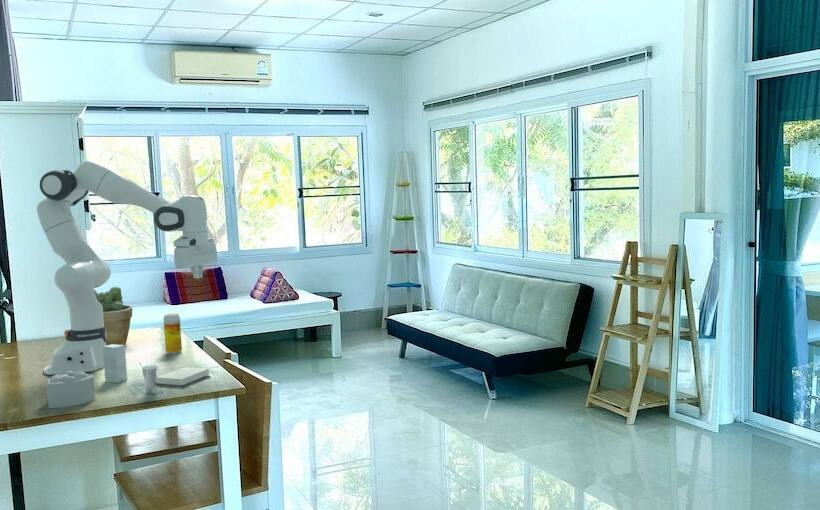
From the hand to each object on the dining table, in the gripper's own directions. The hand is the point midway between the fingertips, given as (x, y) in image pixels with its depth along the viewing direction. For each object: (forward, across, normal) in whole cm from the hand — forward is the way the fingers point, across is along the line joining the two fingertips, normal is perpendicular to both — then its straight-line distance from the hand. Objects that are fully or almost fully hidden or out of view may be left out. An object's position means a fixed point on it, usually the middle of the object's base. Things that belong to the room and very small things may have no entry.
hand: (198, 278), depth 269 cm
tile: (+30, +16, +10) cm, 35 cm away
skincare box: (+31, +30, -13) cm, 45 cm away
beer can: (+31, -11, -23) cm, 40 cm away
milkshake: (+31, +39, +10) cm, 51 cm away
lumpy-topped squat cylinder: (+31, +53, -8) cm, 62 cm away
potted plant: (+31, -16, -59) cm, 68 cm away
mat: (+31, +24, +10) cm, 41 cm away
